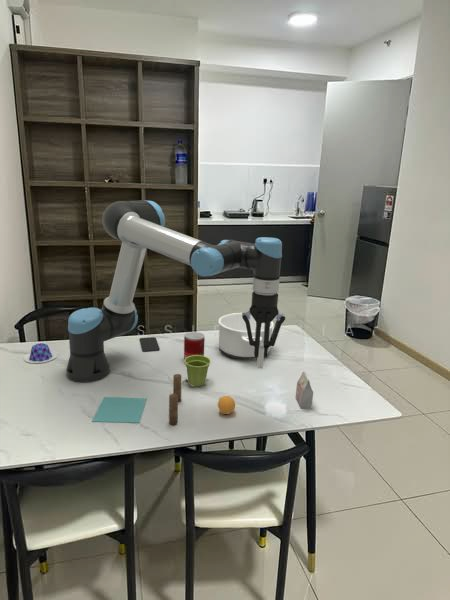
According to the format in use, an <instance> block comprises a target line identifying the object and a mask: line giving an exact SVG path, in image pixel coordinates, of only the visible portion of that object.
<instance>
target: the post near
mask: <svg viewBox="0 0 450 600" xmlns="http://www.w3.org/2000/svg"><path fill="white" fill-rule="evenodd" d="M178 413H179V403H178V395H177V394H173V393H170V394H169V395H168V424H169V425H171V426H176V425H178V423H179V414H178Z"/></svg>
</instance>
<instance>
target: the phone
mask: <svg viewBox="0 0 450 600" xmlns="http://www.w3.org/2000/svg"><path fill="white" fill-rule="evenodd" d="M139 344H140V348H141V351H142V352H143V353H149V352H150V353H152V352H159V351H161V349H160V345H159V343H158V340H157V338H156V337H155V336H152V337H151V336H150V337H149V336H147V337H140V338H139Z"/></svg>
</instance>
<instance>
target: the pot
mask: <svg viewBox="0 0 450 600" xmlns="http://www.w3.org/2000/svg"><path fill="white" fill-rule="evenodd" d="M242 313H243V312H233V313H229V314H228V313H227V314H224V315H222V316H220V317H219V319H218V320H217V321H218V322H217V323H218V324H219V328H218V329H219V331H218V332H219V333H218V347H219V349H220V350H221V352H222V353H224V354H225V355H226V356H227V357H231V358H233V359H239V360H256V359H257V357H255V355H254V348H255V347H254V346H251V345H250V344H249V339H248V334H247V328H246V323H245V321H244V320H243V318H242ZM249 322H250V327H251V332H252V338H253V340H254V341H255V332H256V321H255V320H254V318H253V317H252V315H250V319H249ZM274 326H275V323H274V320H272V321H271V322H270V330H269V341H270V338H271V335H272V332H273V329H274ZM264 327H265V323H261V333H260V345H264V344H263V341H264ZM271 347H272V346H270V347H269V348H268V353H269V352H270V351H271Z"/></svg>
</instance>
